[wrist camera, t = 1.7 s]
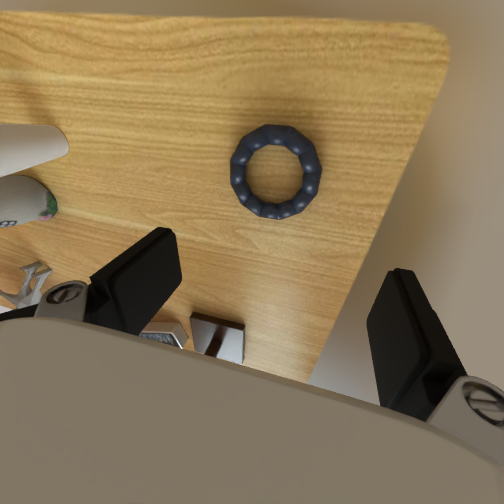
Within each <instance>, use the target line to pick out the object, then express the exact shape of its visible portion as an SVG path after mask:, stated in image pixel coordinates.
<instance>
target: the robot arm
mask: <svg viewBox="0 0 504 504" xmlns="http://www.w3.org/2000/svg"><path fill="white" fill-rule="evenodd" d="M89 278H90V280H91V282H92V283H91V284H89V285H87V284H86V283H85V282H83V281H78V280H74V281H67V282H64V283H60V284H58V285H56V286H54V287H52V288H50V289H49V290H47V291H46V292H45V293H44V294H43V296H42V297H41V299H40V301H39V303H38V304H34V305H31V306H27V307H23V308H20V309H16V310H12V311H8V312H5V313H1V314H0V504H504V392H503V391H502V390H501V389H499V388H498V387H497V386H495V385H493V384H491V383H490V382H488V381H486V380H483V379H481V378H478V377H474V376H468V375H467V373H466V371H465V369H464V367H463V365H462V363H461V361H460V359H459V357H458V355H457V353H456V351H455V349H454V348H453V345H452V344H451V341H450V340H449V338H448V336H447V334H446V332H445V330H444V328H443V326H442V324H441V322H440V320H439V318H438V316H437V314H436V312H435V311H434V310H433V309H432V307H431V305H430V304H429V301H428V299H427V297H426V295H425V293H424V291H423V289H422V287H421V285H420V283H419V281H418V280H417V278H416V275H415V273H414V272H413V271H411V270H405V269H400V268H395V269H394V271H388V273H387V275H386V278H385V279H384V282H383V284H382V286H381V288H380V291H379V293H378V295H377V297H376V299H375V302H374V304H373V306H372V309H371V311H370V313H369V315H368V318H367V331H368V337H369V343H370V348H371V354H372V360H373V366H374V372H375V378H376V383H377V389H378V395H379V401H380V406H378V405H375V404H372V403H369V402H365V401H362V400H359V399H355V398H352V397H349V396H346V395H342V394H339V393H336V392H332V391H329V390H325V389H322V388H318V387H315V386H312V385H308V384H305V383H301V382H298V381H294V380H291V379H288V378H284V377H281V376H277V375H274V374H270V373H267V372H263V371H260V370H256V369H253V368H249V367H246V366H242V365H239V364H235V363H232V362H228V361H225V360H221V359H218V358H214V357H211V356H207V355H204V354H200V353H196V352H193V351H189V350H186V349H182V348H179V347H175V346H172V345H168V344H164V343H161V342H157V341H154V340H150V339H146V338H143V337H139V336H138V335H139V334H140V333H141V332H142V330H143V329H144V328H145V327H146V325H147V324H148V323H149V322H150V321H151V319H152V318H153V317H154V316H155V314H156V313H157V312H158V311H159V309H160V308H161V307H162V306H163V304H164V303H165V302H166V301H167V300H168V298H169V297H170V296H171V295H172V293H173V292H174V291H175V290H176V288H177V287H178V286H179V285H180V283H181V281H182V273H181V267H180V261H179V254H178V248H177V242H176V236H175V233H174V232H172V230H171V229H169V228H163V227H157V228H156V229H154V230H153V231H151V232H150V233H149V234H147V235H146V236H145V237H143V238H142V239H141V240H139V241H138V242H137V243H135V244H134V245H132V246H131V247H130V248H128V249H127V250H126V251H124V252H123V253H122V254H120V255H119V256H118V257H116V258H115V259H114V260H112V261H111V262H109V263H108V264H107V265H105V266H104V267H103V268H101V269H100V270H99V271H97V272H96V273H95V274H93V275H92V276H90V277H89Z"/></svg>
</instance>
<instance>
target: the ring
mask: <svg viewBox="0 0 504 504" xmlns="http://www.w3.org/2000/svg"><path fill="white" fill-rule="evenodd" d="M268 144H269V145H281V146H285V147H286V148H288V149H289V150H290V151H292V152H293V153H294V154H296V155H297V156H298V158H299V161H300V163H301V166H302V169H303V171H304V173H303V180H302V186H301V188H300V190H299V191H298V192H297V193H296V195H295V196H294V197H293V198H292V199H290V200H288V201H285V202H283V203H280V204H275V203H268V202H264V201H262V200H261V199H260V198H258V197H257V196H256V195H254V194H253V193H252V191H251V189H250V187H249V185H248V183H247V181H246V165H247V163H248V161H249V160H250V158H251V156H252V155H253V153H254V152H255V151H256V150H258V149H260V148H262V147H264V146H266V145H268ZM321 173H322V166H321V163H320V161H319V158H318V155H317V152H316V149H315V147H314V144H313V143H312V142H311V141H310V140H309V139H308V138H306V137H305V136H304V135H303V134H301V133H300V132H299V131H297V130H296V129H295V128H294V127H292V126H284V125H270V124H265V125H262V126H261V127H259V128H257V129H256V130H254V131H252V132H250V133H249V134H247V135H245V136H244V137H242V139H241V140H240V142H239V144H238V146H237V148H236V150H235V152H234V153H233V155H232V157H231V160H230V183H231V186H232V188H233V190H234V191H235V193H236V195H237V197H238V199H239V201H240V203H241V204H242V205H243V206H245V207H246V208H247V209H249V210H250V211H252V212H253V213H254V214H256V215H257V216H259V217H264V218H271V219H277V220H281V219H284V218H287V217H290V216H293V215H295V214H298V213H301V212H302V211H303V210H304V209H305V208H306V206H307V205H308V204H309V203H310V202H311V201H312V200H313V198H314V197H315V196H316V195H317V193H318V188H319V183H320V178H321Z"/></svg>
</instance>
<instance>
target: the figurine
mask: <svg viewBox="0 0 504 504" xmlns="http://www.w3.org/2000/svg"><path fill="white" fill-rule="evenodd" d="M40 266H42V263H40V262H35V263H32V264H29V265H26V266H23V267H20V269H21V270H23V271H27V270H28V271H27V275H26V278H25V281H24V282H23V286H22V288H21V290H20V292H19V293H18V295H14V294H8V293H5V292H3V291H1V290H0V295H2V296H3V297H4V298H6V299H7V300H9V301H10V302H11V303H12V304H14V305H15V306H16V307H17V308H16V309H20V308H23V307H27V306H31V305H34V304H38V303H39V301H40V299H41V297H42V295H41V292H40V290H39V289H40V288H41V286H42V285H43V283H44V281H45V279H46V278H47V276H48V274H50V273H51V272H52V270H51V269H50V268H47V269H45V270H42V271H39V272H37V273H35V272H36V270H37V268H38V267H40ZM32 277H34V278H37V281H36V284H35V287H34V289H33V290H31V288H30V286H29V283H30V280H31V279H32ZM16 309H13V310H16ZM11 311H12V310H11Z"/></svg>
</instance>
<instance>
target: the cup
mask: <svg viewBox="0 0 504 504" xmlns="http://www.w3.org/2000/svg"><path fill="white" fill-rule="evenodd" d="M68 151H69V146H68V142H67V140H66V138H65V136H64V134H63V133H62V132H61V131H60V130H59V129H58V128H57V127H55V126H53V125H39V124H7V123H0V177H3V176H6V175H9V174H12V173H15V172H18V171H21V170H24V169H27V168H30V167H33V166H36V165H39V164H42V163H45V162H48V161H50V160H53V159H56V158H59V157H62V156H65V155H66V154H67V153H68Z"/></svg>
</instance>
